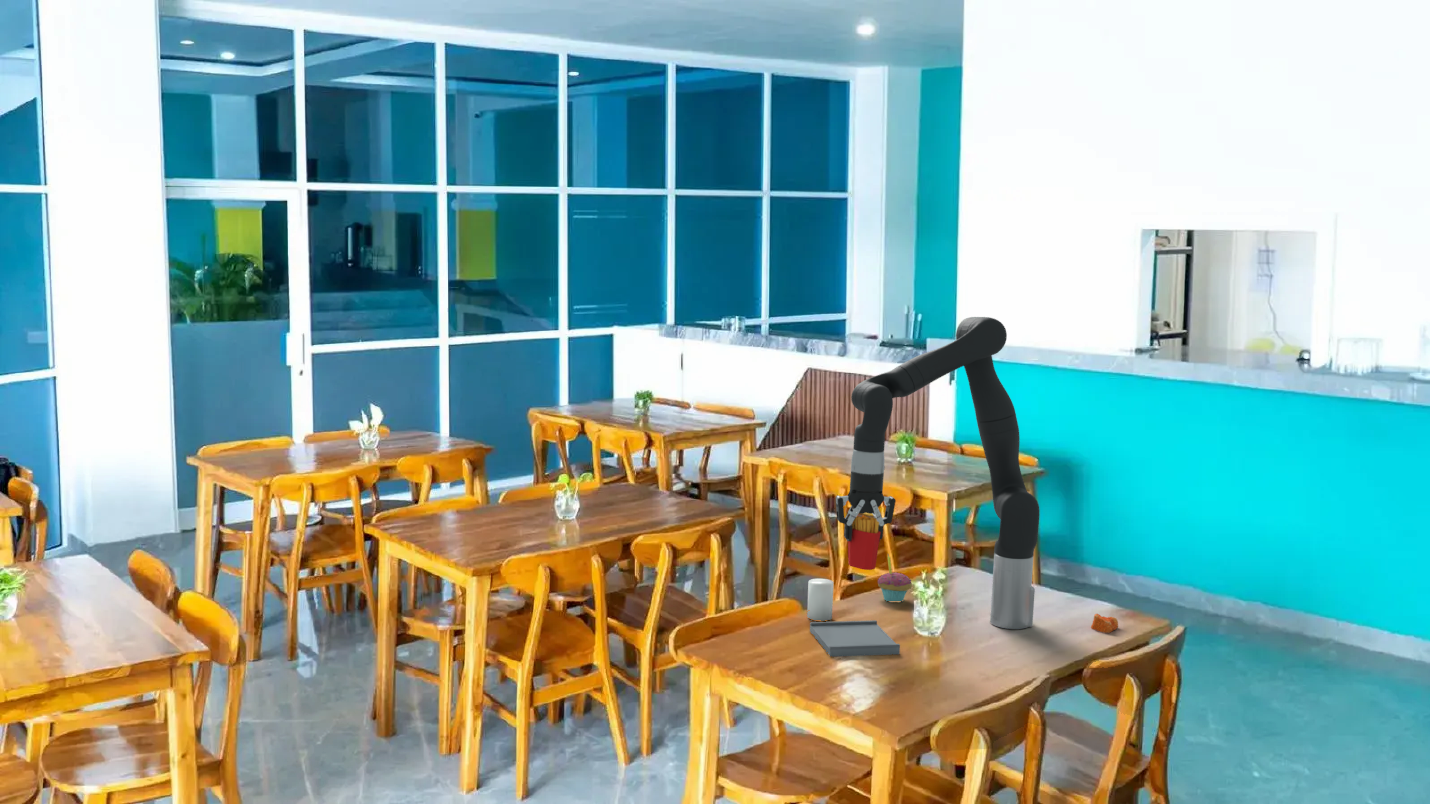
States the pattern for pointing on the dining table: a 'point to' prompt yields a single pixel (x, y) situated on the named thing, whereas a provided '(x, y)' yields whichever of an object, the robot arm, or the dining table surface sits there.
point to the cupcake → (894, 585)
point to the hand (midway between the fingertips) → (862, 540)
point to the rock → (1104, 623)
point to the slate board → (853, 638)
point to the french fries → (864, 543)
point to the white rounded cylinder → (820, 599)
